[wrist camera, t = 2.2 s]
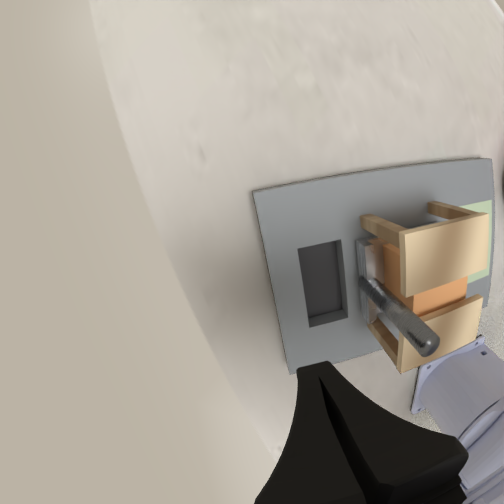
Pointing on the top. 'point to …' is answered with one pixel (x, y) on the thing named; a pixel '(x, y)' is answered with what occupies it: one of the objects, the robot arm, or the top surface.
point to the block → (426, 299)
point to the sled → (389, 298)
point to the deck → (353, 247)
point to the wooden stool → (435, 276)
